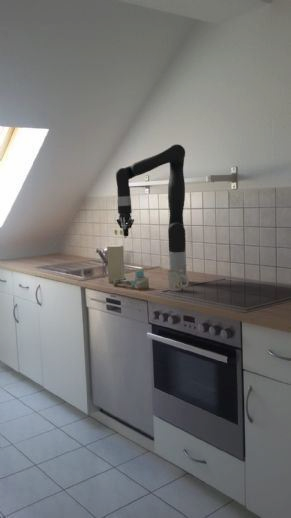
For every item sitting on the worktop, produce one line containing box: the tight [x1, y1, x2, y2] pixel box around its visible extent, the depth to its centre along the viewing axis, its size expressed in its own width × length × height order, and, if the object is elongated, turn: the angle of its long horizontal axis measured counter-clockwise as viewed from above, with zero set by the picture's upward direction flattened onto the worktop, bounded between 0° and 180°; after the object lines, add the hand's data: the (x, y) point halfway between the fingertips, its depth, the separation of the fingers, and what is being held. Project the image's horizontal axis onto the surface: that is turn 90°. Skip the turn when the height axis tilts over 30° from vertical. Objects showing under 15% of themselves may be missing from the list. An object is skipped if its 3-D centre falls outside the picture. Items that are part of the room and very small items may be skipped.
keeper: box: [130, 269, 145, 286], centre depth 273 cm, size 5×5×8 cm
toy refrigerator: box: [106, 244, 126, 284], centre depth 295 cm, size 8×7×21 cm
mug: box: [166, 269, 190, 292], centre depth 261 cm, size 8×13×10 cm, turn 51°
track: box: [113, 275, 150, 291], centre depth 277 cm, size 20×8×6 cm, turn 42°
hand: (126, 236), depth 284 cm, fingers closed
